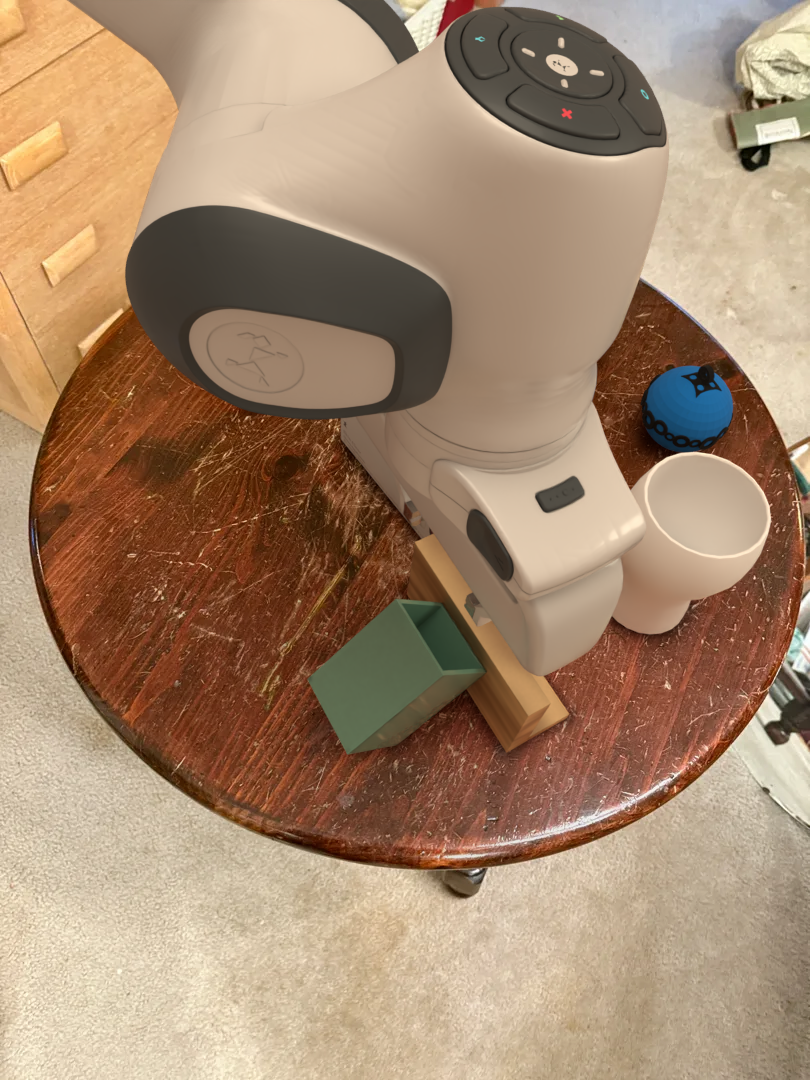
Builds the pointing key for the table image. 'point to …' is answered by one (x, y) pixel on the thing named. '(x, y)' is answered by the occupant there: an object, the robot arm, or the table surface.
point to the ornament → (687, 408)
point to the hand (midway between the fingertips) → (448, 561)
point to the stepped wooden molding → (486, 654)
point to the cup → (690, 538)
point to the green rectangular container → (395, 675)
